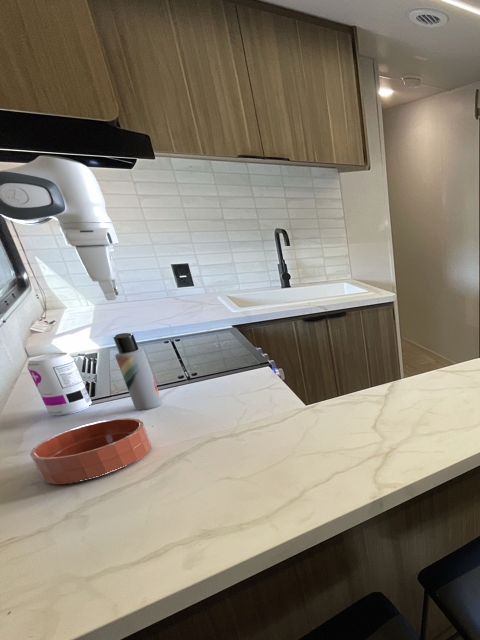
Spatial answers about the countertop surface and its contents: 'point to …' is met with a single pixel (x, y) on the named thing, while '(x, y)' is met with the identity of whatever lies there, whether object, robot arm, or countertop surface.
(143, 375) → the lotion bottle
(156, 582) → the countertop surface
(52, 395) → the supplement can
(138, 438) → the bowl
